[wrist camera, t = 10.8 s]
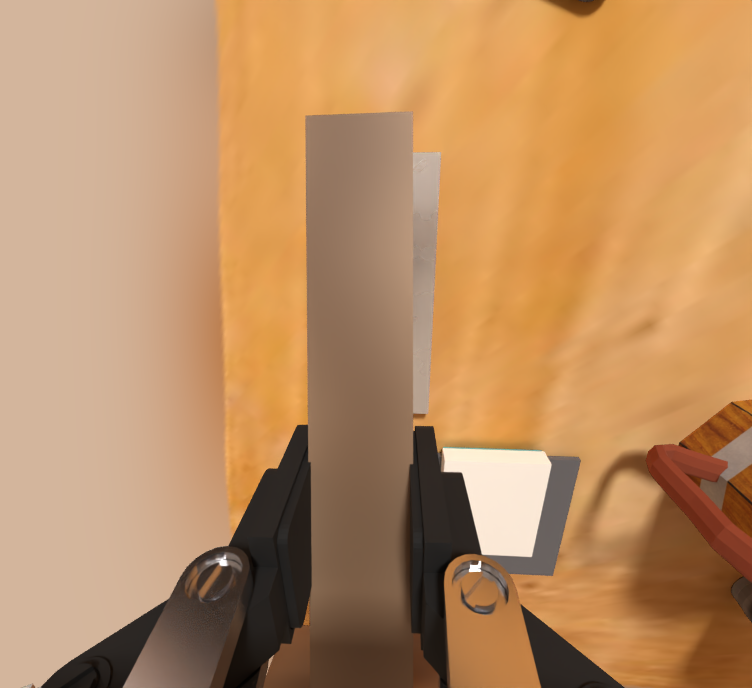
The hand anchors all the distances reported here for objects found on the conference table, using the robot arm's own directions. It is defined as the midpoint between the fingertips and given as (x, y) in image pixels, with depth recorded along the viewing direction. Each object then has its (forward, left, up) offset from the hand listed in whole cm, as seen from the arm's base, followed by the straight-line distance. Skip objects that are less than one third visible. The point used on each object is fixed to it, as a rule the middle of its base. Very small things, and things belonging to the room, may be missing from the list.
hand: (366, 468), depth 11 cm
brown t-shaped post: (0, 0, -2) cm, 2 cm away
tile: (-10, +13, -18) cm, 24 cm away
